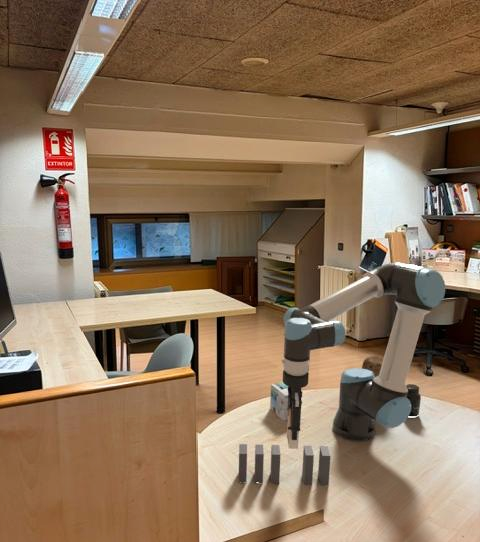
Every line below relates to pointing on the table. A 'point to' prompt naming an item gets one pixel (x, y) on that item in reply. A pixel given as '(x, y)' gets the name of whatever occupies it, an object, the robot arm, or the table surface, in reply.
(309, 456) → the domino
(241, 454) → the domino
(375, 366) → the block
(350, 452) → the table surface
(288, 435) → the domino
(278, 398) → the light bulb box
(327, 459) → the domino
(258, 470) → the domino
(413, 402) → the supplement bottle
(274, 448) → the domino
